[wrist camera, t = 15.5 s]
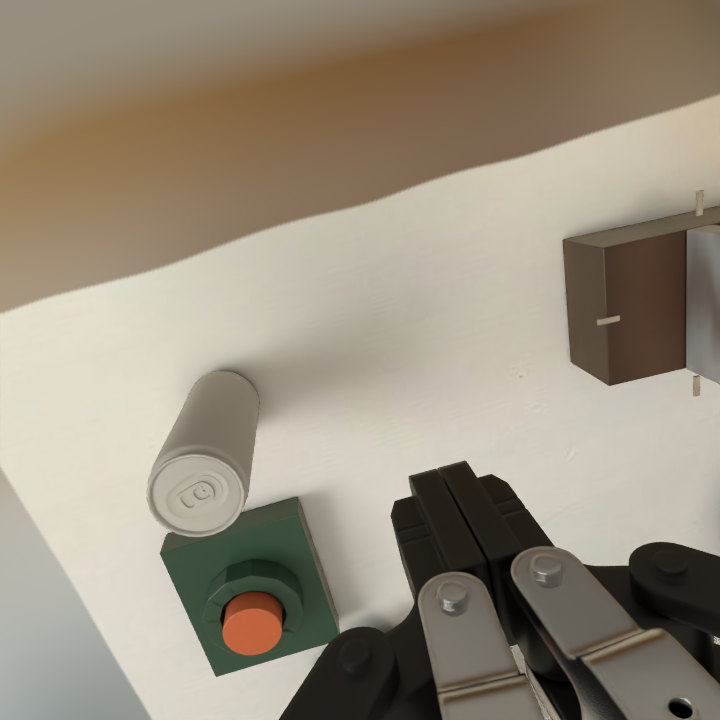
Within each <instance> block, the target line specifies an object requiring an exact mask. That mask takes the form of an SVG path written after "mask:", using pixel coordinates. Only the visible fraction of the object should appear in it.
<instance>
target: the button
mask: <svg viewBox="0 0 720 720" xmlns="http://www.w3.org/2000/svg"><path fill="white" fill-rule="evenodd" d="M281 634H282V607H281V605H280V603H279V602H278V600H277V599H276V598H275V597H274V596H272V595H270V594H268V593H266V592H262V591H249V592H245V593H242V594H240V595H238V596H236V597H235V598H234V599H233V600H232V601H231V602H230V603H229V604H228V606H227V608H226V612H225V618H224V625H223V639H224V641H225V643H226V645H227V646H228V647H229V648H230V649H231V650H233V651H235V652H237V653H239V654H243V655H258V654H262V653H265V652H267V651H269V650H270V649H272V648H273V647H274V646H275V645H276V644H277V643H278V641H279V640H280V637H281Z"/></svg>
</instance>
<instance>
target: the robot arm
mask: <svg viewBox="0 0 720 720" xmlns="http://www.w3.org/2000/svg"><path fill="white" fill-rule="evenodd" d="M409 483H410V488H411V492H412V496H411V497H407V498H404V499H400V500H397V501H395V502H394V506H393V509H392V513H391V519H392V523H393V527H394V531H395V535H396V539H397V543H398V548H399V552H400V556H401V560H402V564H403V567H404V570H405V573H406V577H407V579H408V583H409V586H410V589H411V592H412V596H413V599H414V602H415V603H414V606H413V608H412V610H411V612H410V614H409V615H408V616H407V617H406V619H405V620H404V621H403V622H402V623H400V624H399V625H398V626H396V627H395V628H393V629H392V630H390V631H389V632H387V633H383V632H382V631H380V630H378V629H376V628H372V627H356V628H352V629H349V630H346V631H344V632H342V633H341V634H339V635H338V636H336V637H335V638H334V639H333V640H332V641H331V642H330V643H329V644H328V645H327V647H326V648H325V650H324V651H323V653H322V654H321V656H320V657H319V659H318V660H317V662H316V663H315V665H314V666H313V668H312V670H311V671H310V673H309V674H308V676H307V677H306V679H305V680H304V682H303V683H302V685H301V686H300V688H299V689H298V691H297V693H296V694H295V696H294V697H293V699H292V700H291V702H290V703H289V705H288V706H287V708H286V709H285V711H284V712H283V714H282V715H281V717H280V719H279V720H545V719H544V717H543V714H542V712H541V709H540V707H539V704H538V702H537V699H536V697H535V694H534V692H533V689H532V687H531V685H530V682H531V684H532V686H533V688H534V689H535V691H536V693H537V694H538V696H539V698H540V699H541V701H542V703H543V705H544V706H545V708H546V710H547V711H548V713H549V715H550V716H551V718H552V720H720V645H717V644H715V643H714V636H716V637H718V638H720V557H719V556H716V555H713V554H709V553H706V552H703V551H699V550H696V549H693V548H689V547H686V546H683V545H679V544H675V543H668V542H655V543H649V544H645V545H642V546H641V547H639V548H637V549H636V550H635V551H633V553H632V554H631V556H630V558H629V566H591V565H586V564H582V563H581V562H580V560H579V559H578V558H576V557H575V556H574V555H573V554H571V553H570V552H568V551H566V550H563V549H560V548H557V547H555V546H554V545H553V543H552V542H551V541H550V539H549V538H548V537H547V535H546V534H545V533H544V531H543V530H542V529H541V527H540V526H539V525H538V523H537V522H536V521H535V519H534V518H533V517H532V515H531V514H530V512H529V511H528V510H527V509H526V508H525V506H524V504H523V503H522V502H521V500H520V499H519V498H518V497H517V495H516V494H515V492H514V491H513V490H512V488H511V487H510V486H509V484H508V483H507V482H505V481H503V480H501V479H500V478H498V477H496V476H494V475H492V474H490V475H486V476H483V477H479V478H477V477H476V475H475V474H474V472H473V471H472V469H471V467H470V466H469V464H468V463H467V462H466V461H462V462H458V463H454V464H451V465H447V466H443V467H440V468H438V470H437V469H433V470H429V471H426V472H422V473H418V474H415V475H411V476H409ZM516 644H518V646H519V648H520V650H521V652H522V653H523V655H524V659H525V666H526V672H527V676H528V678H529V680H530V682H529V680H528V678H527V676H526V675H525V674H524V673H522V674H520V672H519V670H518V667H517V665H516V662H515V659H514V657H513V654H512V652H511V649H510V647H509V646H513V645H516Z"/></svg>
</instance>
